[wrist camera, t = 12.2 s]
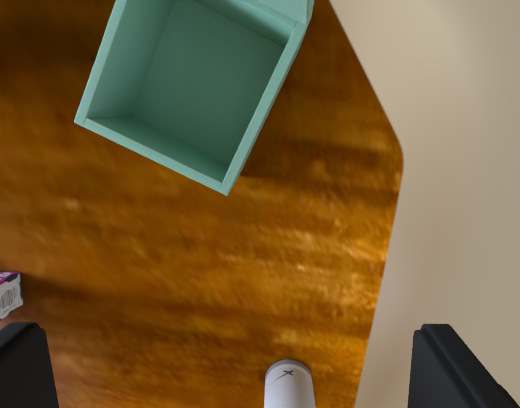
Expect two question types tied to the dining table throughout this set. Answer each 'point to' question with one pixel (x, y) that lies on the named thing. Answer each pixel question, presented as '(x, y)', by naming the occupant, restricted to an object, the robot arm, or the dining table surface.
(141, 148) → the mint green cubby
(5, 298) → the candy bar box
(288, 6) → the box lid
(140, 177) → the dining table surface
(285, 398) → the travel mug
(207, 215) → the dining table surface
